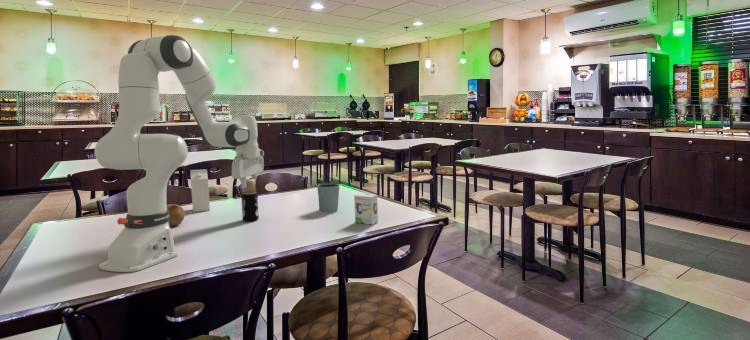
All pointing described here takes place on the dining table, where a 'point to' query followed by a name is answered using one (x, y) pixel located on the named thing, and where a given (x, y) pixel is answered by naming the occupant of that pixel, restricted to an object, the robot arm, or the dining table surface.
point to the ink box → (366, 208)
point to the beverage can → (250, 207)
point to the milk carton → (200, 190)
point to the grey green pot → (328, 197)
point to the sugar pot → (249, 186)
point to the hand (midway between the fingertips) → (249, 186)
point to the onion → (175, 214)
